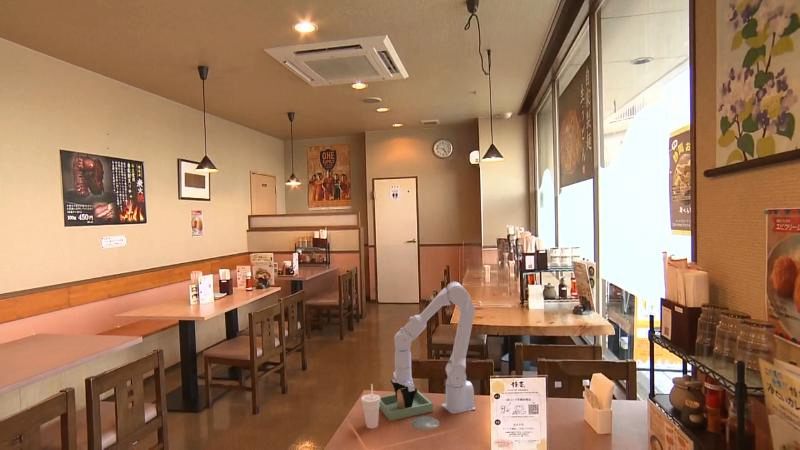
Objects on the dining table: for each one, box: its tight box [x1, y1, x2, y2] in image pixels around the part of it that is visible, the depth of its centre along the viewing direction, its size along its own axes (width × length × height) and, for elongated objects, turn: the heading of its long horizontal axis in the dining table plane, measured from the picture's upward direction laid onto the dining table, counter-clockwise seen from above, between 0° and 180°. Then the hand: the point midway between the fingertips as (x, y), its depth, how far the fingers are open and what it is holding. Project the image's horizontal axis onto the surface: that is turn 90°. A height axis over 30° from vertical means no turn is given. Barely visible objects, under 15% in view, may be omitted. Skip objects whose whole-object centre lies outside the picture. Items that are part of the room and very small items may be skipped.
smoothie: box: [360, 383, 381, 429], centre depth 140 cm, size 6×6×14 cm
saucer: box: [411, 416, 440, 431], centre depth 141 cm, size 9×9×1 cm
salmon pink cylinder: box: [397, 387, 406, 410], centre depth 152 cm, size 5×5×6 cm
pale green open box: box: [379, 389, 434, 422], centre depth 152 cm, size 16×13×3 cm
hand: (404, 404), depth 152 cm, fingers open, 7 cm apart
